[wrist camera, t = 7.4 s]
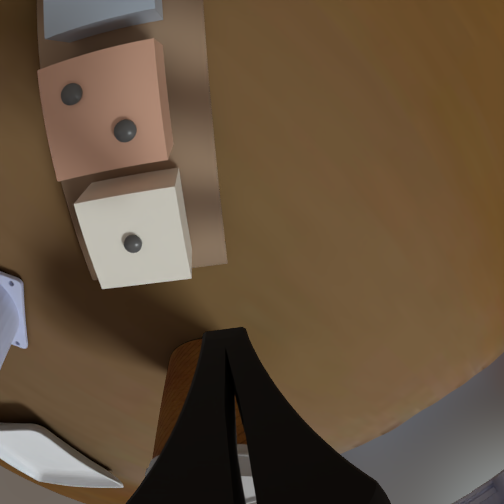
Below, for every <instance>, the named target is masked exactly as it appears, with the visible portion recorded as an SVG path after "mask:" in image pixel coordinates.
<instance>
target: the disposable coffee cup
mask: <svg viewBox="0 0 504 504" xmlns="http://www.w3.org/2000/svg"><path fill="white" fill-rule="evenodd" d="M201 344H202V339H197V340H193V341H189V342H187V343H184V344H182V345H181V346H179V347H178V348H176V349H175V350H174V352H173V353H172V354H171V357H170V360H169V365H168V370H167V375H166V381H165V386H164V392H163V397H162V403H161V408H160V415H159V420H158V427H157V433H156V439H155V445H154V452H153V459H152V460H151V462H150V465H149V467H148V468H147V470H146V473H145V476H146V475H147V474H148V472H149V471H150V469H151V468H152V466H153V465H154V463H155V462H156V460H157V458H158V456H159V455H160V453H161V451H162V449H163V447H164V446H165V444H166V442H167V440H168V438H169V436H170V434H171V432H172V430H173V428H174V426H175V424H176V422H177V419H178V417H179V415H180V412H181V410H182V407H183V405H184V402H185V399H186V397H187V394H188V392H189V389H190V386H191V383H192V379H193V376H194V373H195V370H196V366H197V362H198V358H199V354H200V350H201ZM235 414H236V434H237V451H238V460H239V466H240V472H241V478H242V484H243V490H244V495H245V501H246V504H249V503H254V502H256V496H255V490H254V484H253V478H252V472H251V466H250V460H249V454H248V448H247V441H246V436H245V432H244V428H243V424H242V421H241V417H240V413H239V409H238V405H237V401H236V397H235Z"/></svg>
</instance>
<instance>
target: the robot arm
mask: <svg viewBox="0 0 504 504" xmlns="http://www.w3.org/2000/svg"><path fill="white" fill-rule="evenodd" d="M11 281H12V282H13V283H12V282H11ZM11 344H13V345H15V346H18V347H21V348H24V349H25V348H27V346H28V340H27V331H26V320H25V307H24V287H23V282H22V280H21V279H19V278H17V277H15V276H12V275H9V274H7V273H4V272H1V271H0V369H1V366H2V364H3V362H4V359H5V357H6V355H7V352H8V350H9V348H10V346H11ZM235 397H236V401H237V405H238V409H239V413H240V417H241V421H242V424H243V428H244V432H245V436H246V441H247V448H248V454H249V460H250V466H251V472H252V478H253V484H254V490H255V496H256V502H257V504H391V503H390V500H389V499H388V497H387V495H386V493H385V492H384V490H383V489H382V488H381V486H380V485H379V484H378V483H377V481H376V480H374V479H373V478H371V477H370V476H368V475H367V474H365V473H364V472H362V471H361V470H360V469H358V468H357V467H355V466H354V465H353V464H351V463H350V462H349V461H348V460H346V459H345V458H344V457H342V456H341V455H340V454H339V453H338V452H336V451H335V450H334V449H333V448H332V447H331V446H330V445H329V444H327V443H326V442H325V441H324V440H323V439H322V438H321V437H320V436H319V435H318V434H317V433H316V432H314V430H313V429H312V428H311V427H310V426H309V425H308V424H307V423H306V422H305V421H304V420H303V419H302V418H301V417H300V416H299V414H298V413H297V412H296V411H295V410H294V409H293V407H292V406H291V405H290V404H289V403H288V401H287V400H286V399H285V397H284V396H283V395H282V393H281V392H280V391H279V389H278V388H277V387H276V385H275V384H274V382H273V381H272V379H271V378H270V376H269V375H268V373H267V371H266V370H265V368H264V367H263V365H262V363H261V362H260V360H259V358H258V356H257V354H256V352H255V350H254V348H253V346H252V344H251V342H250V340H249V337H248V334H247V331H246V329H245V328H243V327H238V328H230V329H223V330H215V331H207V332H205V333H204V334H203V337H202V344H201V350H200V354H199V358H198V362H197V366H196V370H195V373H194V376H193V379H192V383H191V386H190V389H189V392H188V394H187V397H186V399H185V402H184V405H183V407H182V410H181V412H180V415H179V417H178V419H177V422H176V424H175V426H174V428H173V430H172V432H171V434H170V436H169V438H168V440H167V442H166V444H165V446H164V447H163V449H162V451H161V453H160V455H159V456H158V458H157V460H156V462H155V463H154V465H153V466H152V468H151V469H150V471H149V472H148V474H147V475H146V477H145V478H144V480H143V481H142V483H141V485H140V486H139V487H138V489H137V490H136V491H135V493H134V494H133V495H132V496H131V498H130V499H129V500H128V501H127V503H126V504H246V501H245V495H244V490H243V484H242V478H241V472H240V466H239V460H238V451H237V434H236V414H235ZM452 504H504V470H503V471H501V472H500V473H499V474H497V475H496V476H494V477H493V478H492V479H491V480H489V481H487V482H486V483H484V484H483V485H481V486H480V487H478V488H477V489H475V490H474V491H472V492H471V493H469V494H468V495H466V496H464V497H463V498H461V499H459V500H458V501H456V502H454V503H452Z"/></svg>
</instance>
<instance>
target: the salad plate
mask: <svg viewBox="0 0 504 504" xmlns="http://www.w3.org/2000/svg"><path fill="white" fill-rule="evenodd" d="M0 459H2V460H3V461H5V462H7V463H8V464H10V465H11V466H13V467H15V468H16V469H18V470H20V471H21V472H23V473H25V474H27V475H28V476H30V477H32V478H34V479H36V480H37V481H40V482H46V483H52V484H59V485H66V486H77V487H97V488H122V487H123V484H122V483H121V481H120V480H119V479H118V478H117V477H116V476H114V475H113V474H112V473H110V472H109V471H107V470H106V469H104V468H103V467H101V466H99V465H98V464H96V463H94V462H93V461H91V460H90V459H88V458H87V457H85V456H84V455H82V454H81V453H79V452H78V451H77V450H75V449H74V448H72V447H71V446H69V445H68V444H67V443H65V442H64V441H62V440H61V439H60V438H58V437H57V436H55V435H54V434H53V433H51V432H50V431H49V430H47V429H46V428H44V427H42V426H40V425H37V424H33V423H26V424H25V423H0Z"/></svg>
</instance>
